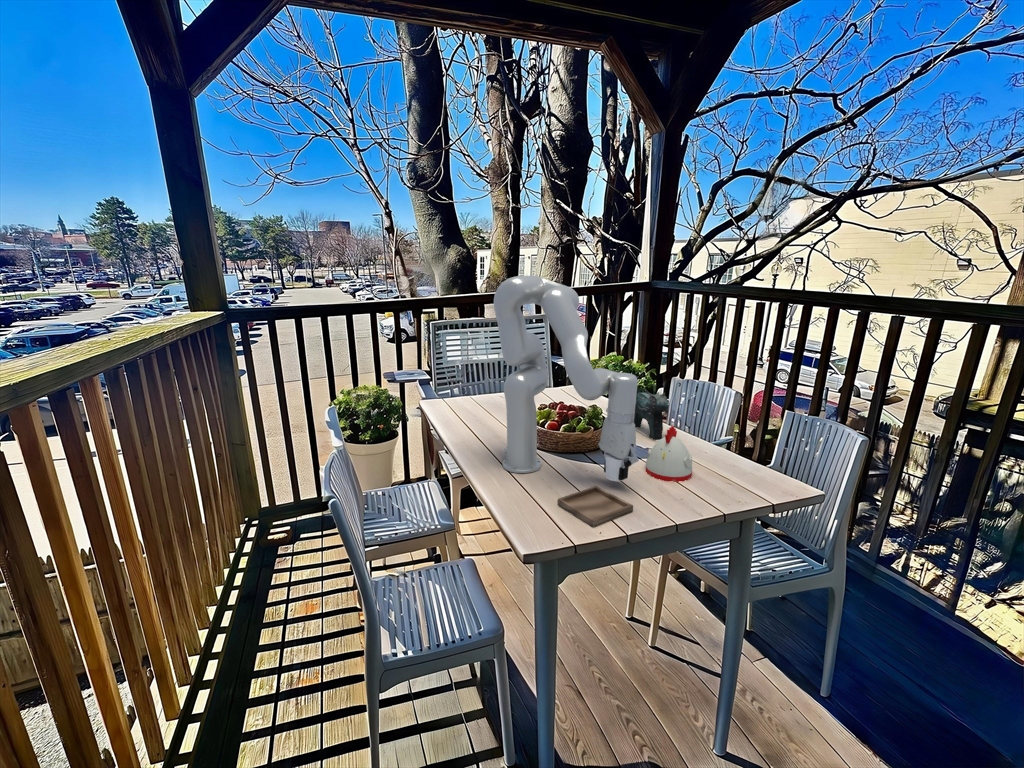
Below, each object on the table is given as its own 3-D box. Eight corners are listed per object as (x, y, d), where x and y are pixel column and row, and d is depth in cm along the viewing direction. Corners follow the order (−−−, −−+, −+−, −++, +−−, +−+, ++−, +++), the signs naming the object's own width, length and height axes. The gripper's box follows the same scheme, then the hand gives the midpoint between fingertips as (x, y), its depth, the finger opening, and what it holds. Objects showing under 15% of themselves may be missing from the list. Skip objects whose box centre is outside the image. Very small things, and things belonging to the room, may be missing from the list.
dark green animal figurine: (667, 440, 176) (671, 388, 171) (651, 442, 175) (654, 389, 170) (640, 424, 195) (643, 376, 190) (625, 425, 193) (628, 377, 189)
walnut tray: (557, 504, 129) (557, 498, 129) (595, 491, 137) (595, 485, 136) (593, 527, 118) (593, 521, 117) (632, 511, 125) (633, 505, 125)
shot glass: (612, 483, 136) (614, 460, 134) (598, 473, 142) (600, 451, 140) (632, 480, 138) (634, 457, 136) (618, 470, 144) (620, 448, 143)
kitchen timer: (638, 474, 148) (641, 428, 144) (654, 460, 159) (657, 417, 155) (683, 486, 140) (687, 438, 136) (697, 470, 151) (702, 425, 147)
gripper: (590, 410, 140) (586, 467, 145) (634, 427, 126) (628, 490, 131) (608, 406, 144) (604, 462, 149) (653, 423, 130) (646, 483, 135)
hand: (615, 474), depth 140 cm, fingers closed on shot glass, 5 cm apart
